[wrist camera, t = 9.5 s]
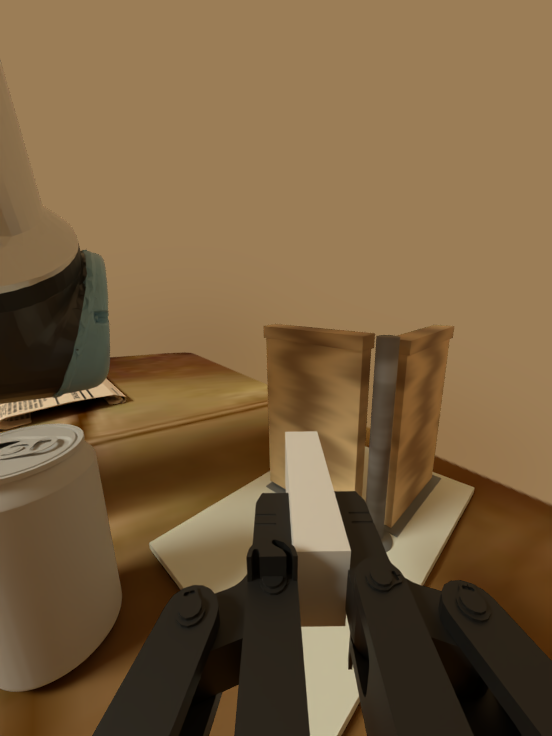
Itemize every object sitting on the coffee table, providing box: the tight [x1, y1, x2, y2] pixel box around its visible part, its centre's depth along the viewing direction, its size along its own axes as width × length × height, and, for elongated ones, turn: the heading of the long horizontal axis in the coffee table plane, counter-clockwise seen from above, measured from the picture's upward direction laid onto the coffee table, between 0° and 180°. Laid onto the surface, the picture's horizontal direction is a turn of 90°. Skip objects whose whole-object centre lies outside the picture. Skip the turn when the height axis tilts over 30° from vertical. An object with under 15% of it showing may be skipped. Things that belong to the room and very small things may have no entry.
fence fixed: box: [384, 325, 454, 528], centre depth 26 cm, size 9×2×15 cm, turn 135°
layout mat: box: [149, 446, 475, 736], centre depth 26 cm, size 16×24×1 cm, turn 135°
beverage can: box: [0, 424, 122, 692], centre depth 16 cm, size 6×6×12 cm
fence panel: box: [264, 324, 400, 540], centre depth 24 cm, size 11×2×15 cm, turn 46°
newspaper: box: [0, 379, 126, 430], centre depth 62 cm, size 37×19×3 cm, turn 40°
